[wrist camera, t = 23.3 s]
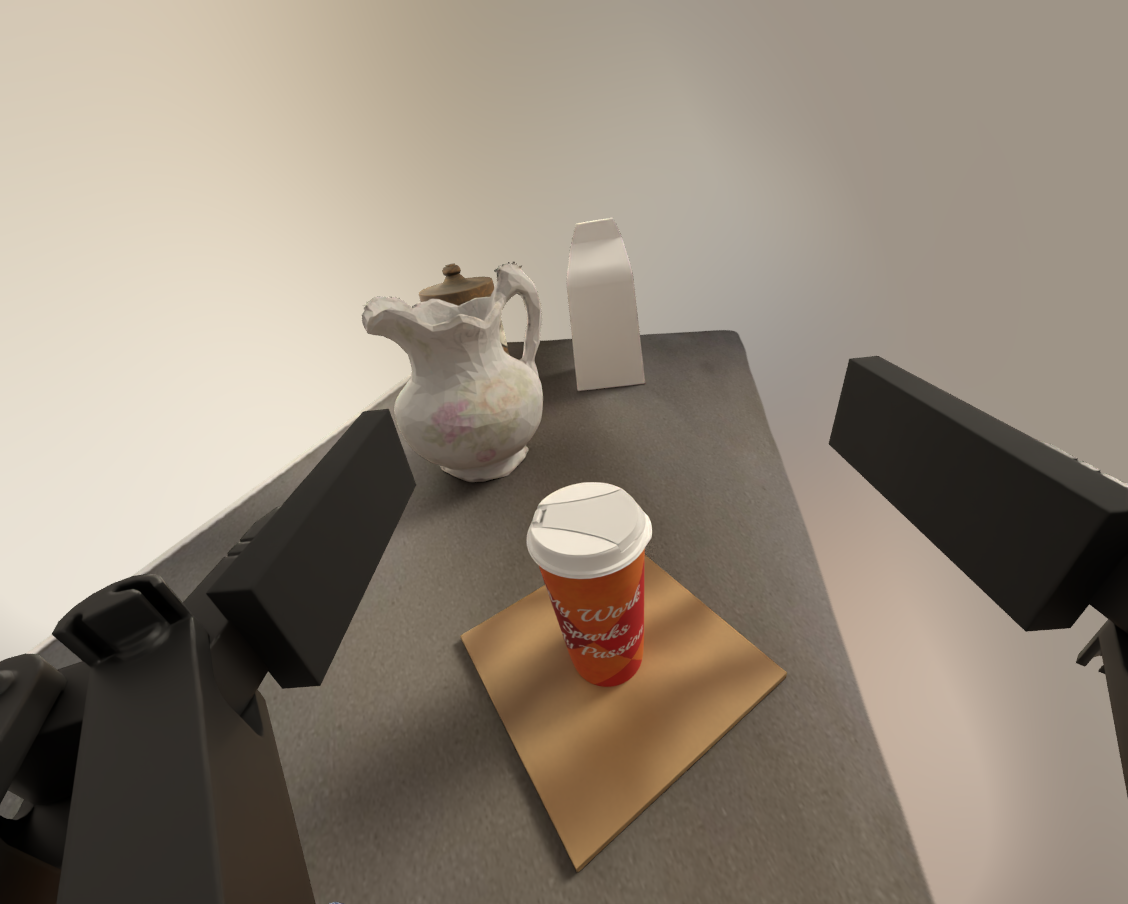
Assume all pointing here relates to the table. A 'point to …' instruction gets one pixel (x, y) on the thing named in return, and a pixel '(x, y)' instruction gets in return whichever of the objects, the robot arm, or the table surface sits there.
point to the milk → (603, 308)
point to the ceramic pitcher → (465, 378)
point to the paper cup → (594, 576)
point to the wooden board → (616, 706)
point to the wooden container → (461, 291)
